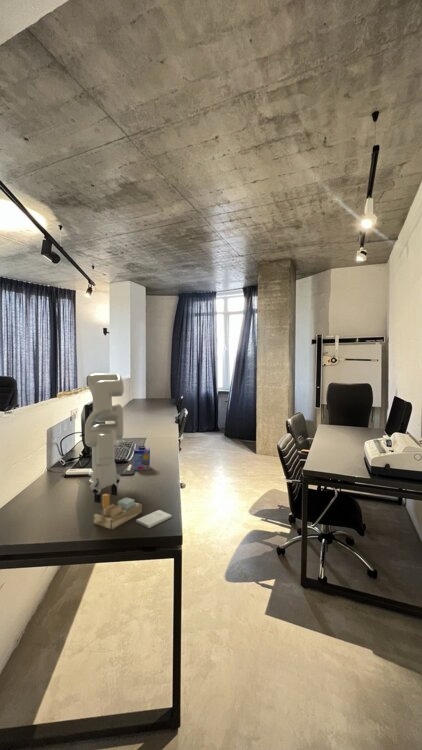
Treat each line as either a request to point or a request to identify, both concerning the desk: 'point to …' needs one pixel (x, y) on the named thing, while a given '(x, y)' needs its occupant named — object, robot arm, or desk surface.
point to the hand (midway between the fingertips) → (106, 498)
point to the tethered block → (119, 502)
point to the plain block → (112, 511)
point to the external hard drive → (153, 518)
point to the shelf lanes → (118, 517)
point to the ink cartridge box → (141, 458)
